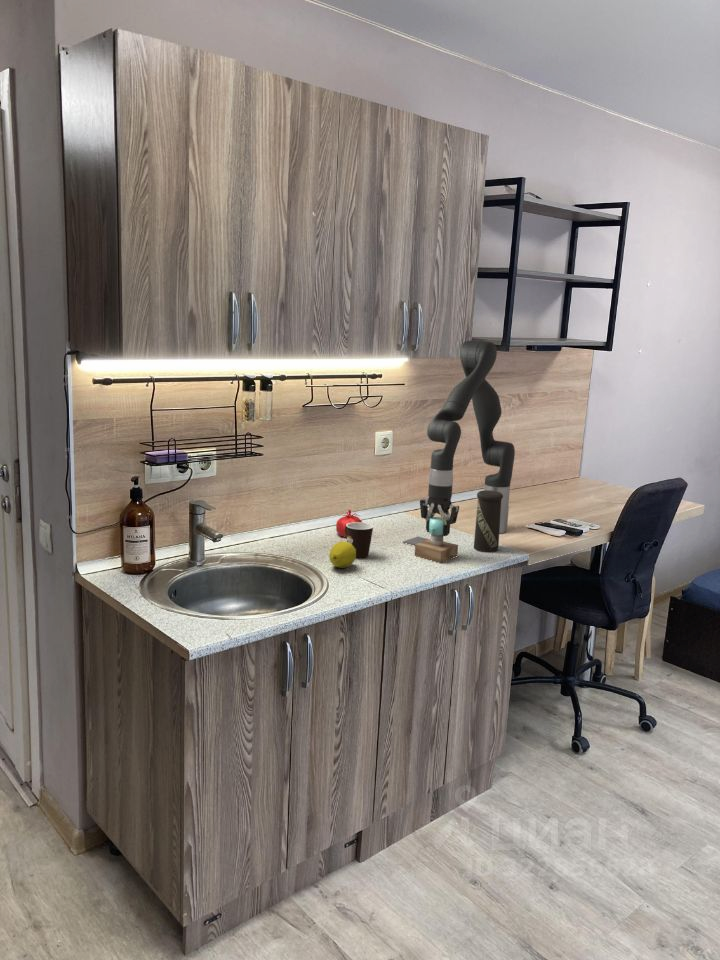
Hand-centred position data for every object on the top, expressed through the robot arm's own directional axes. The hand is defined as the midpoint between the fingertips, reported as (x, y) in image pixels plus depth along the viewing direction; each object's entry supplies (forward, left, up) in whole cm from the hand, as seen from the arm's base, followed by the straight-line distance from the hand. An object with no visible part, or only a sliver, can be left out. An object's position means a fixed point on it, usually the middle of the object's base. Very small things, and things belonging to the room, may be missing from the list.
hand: (437, 533), depth 254 cm
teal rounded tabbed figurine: (0, 0, 0) cm, 0 cm away
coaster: (-9, -12, -8) cm, 17 cm away
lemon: (+31, -14, -8) cm, 35 cm away
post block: (0, 0, -8) cm, 8 cm away
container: (-20, +7, -8) cm, 23 cm away
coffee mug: (+17, -19, -8) cm, 27 cm away
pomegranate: (+2, -35, -8) cm, 36 cm away
